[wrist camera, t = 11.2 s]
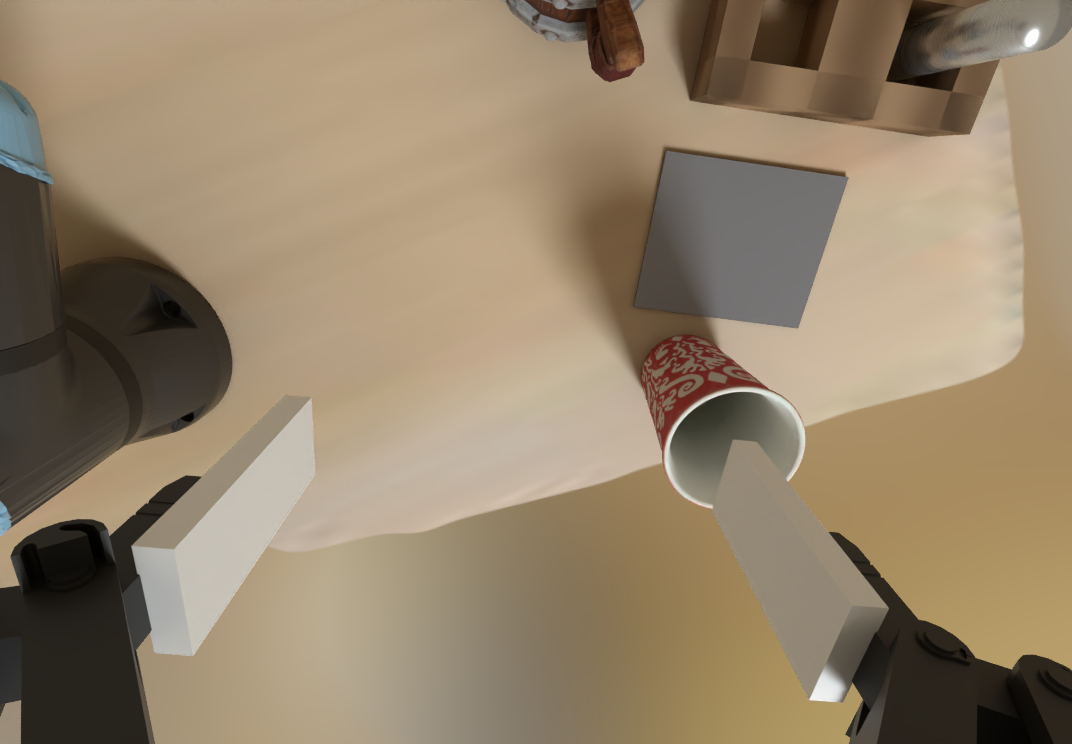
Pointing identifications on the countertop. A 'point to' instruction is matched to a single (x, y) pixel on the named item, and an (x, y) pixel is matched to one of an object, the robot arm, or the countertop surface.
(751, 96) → the hole block
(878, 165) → the countertop surface
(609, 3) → the mug
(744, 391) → the mug
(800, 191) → the mat
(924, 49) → the peg
